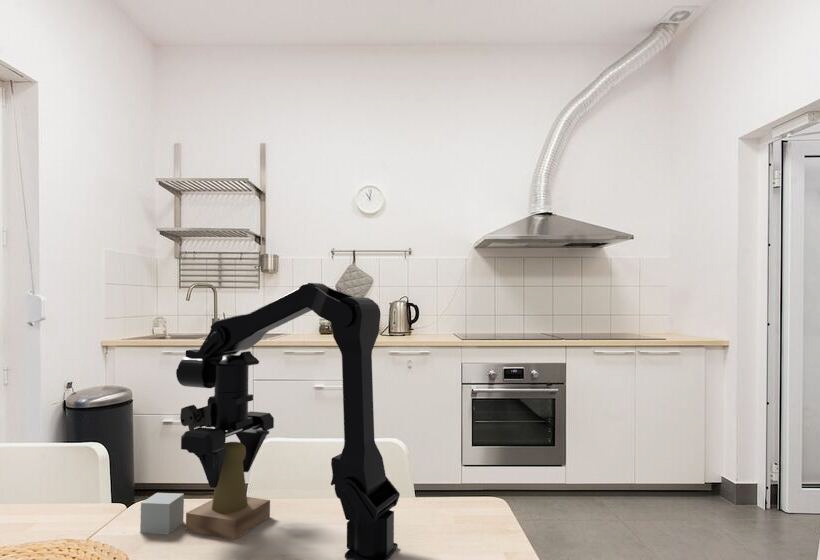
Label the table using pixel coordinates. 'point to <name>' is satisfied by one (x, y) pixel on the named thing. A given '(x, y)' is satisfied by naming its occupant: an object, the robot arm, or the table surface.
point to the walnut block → (227, 519)
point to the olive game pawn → (231, 481)
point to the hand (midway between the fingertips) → (230, 479)
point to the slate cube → (162, 513)
